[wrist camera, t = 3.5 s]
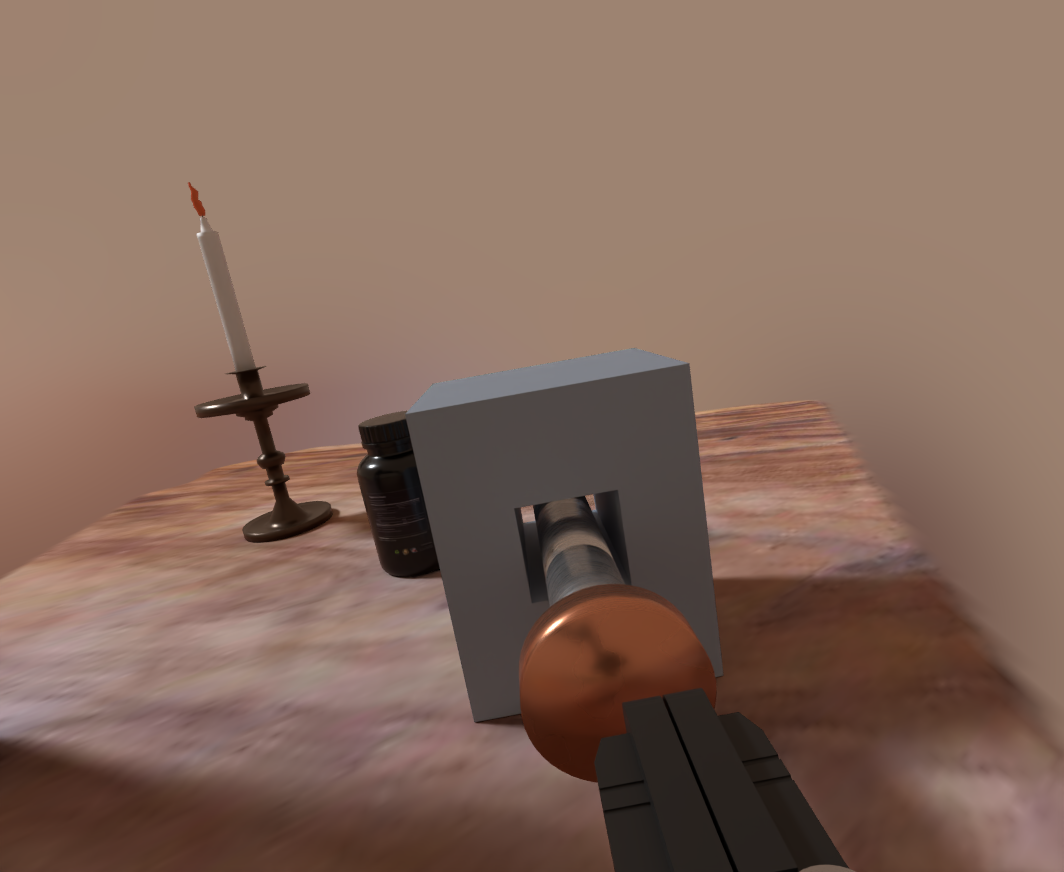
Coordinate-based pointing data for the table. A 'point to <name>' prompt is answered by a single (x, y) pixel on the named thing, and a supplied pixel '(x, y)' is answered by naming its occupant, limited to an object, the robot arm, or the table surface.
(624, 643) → the pin
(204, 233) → the candlestick
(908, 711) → the table surface
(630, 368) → the block with square hole
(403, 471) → the supplement bottle
